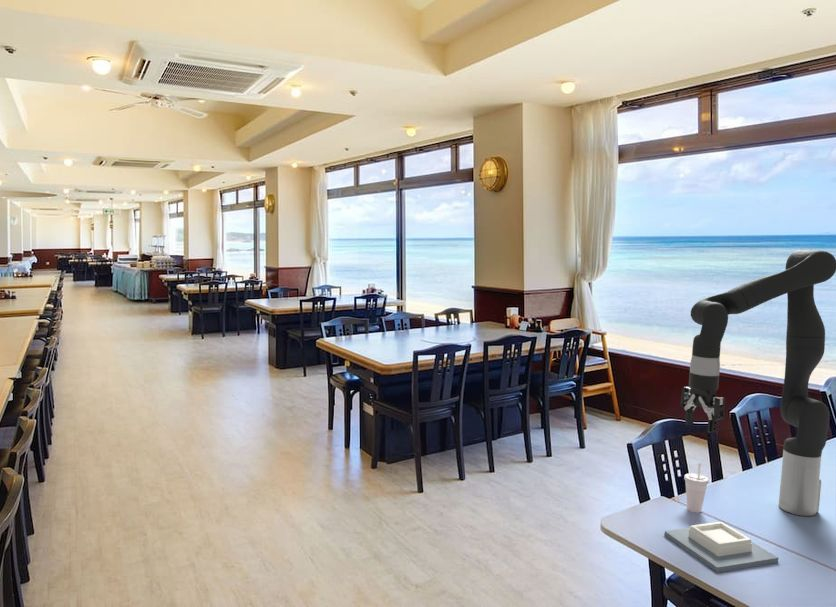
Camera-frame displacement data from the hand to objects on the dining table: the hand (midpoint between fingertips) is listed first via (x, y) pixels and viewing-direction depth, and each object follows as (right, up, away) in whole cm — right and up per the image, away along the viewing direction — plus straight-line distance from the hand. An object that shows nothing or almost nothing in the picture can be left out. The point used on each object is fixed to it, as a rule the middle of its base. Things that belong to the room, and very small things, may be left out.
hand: (700, 427), depth 167 cm
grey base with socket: (-5, -26, -19) cm, 33 cm away
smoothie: (-1, -24, +2) cm, 24 cm away
